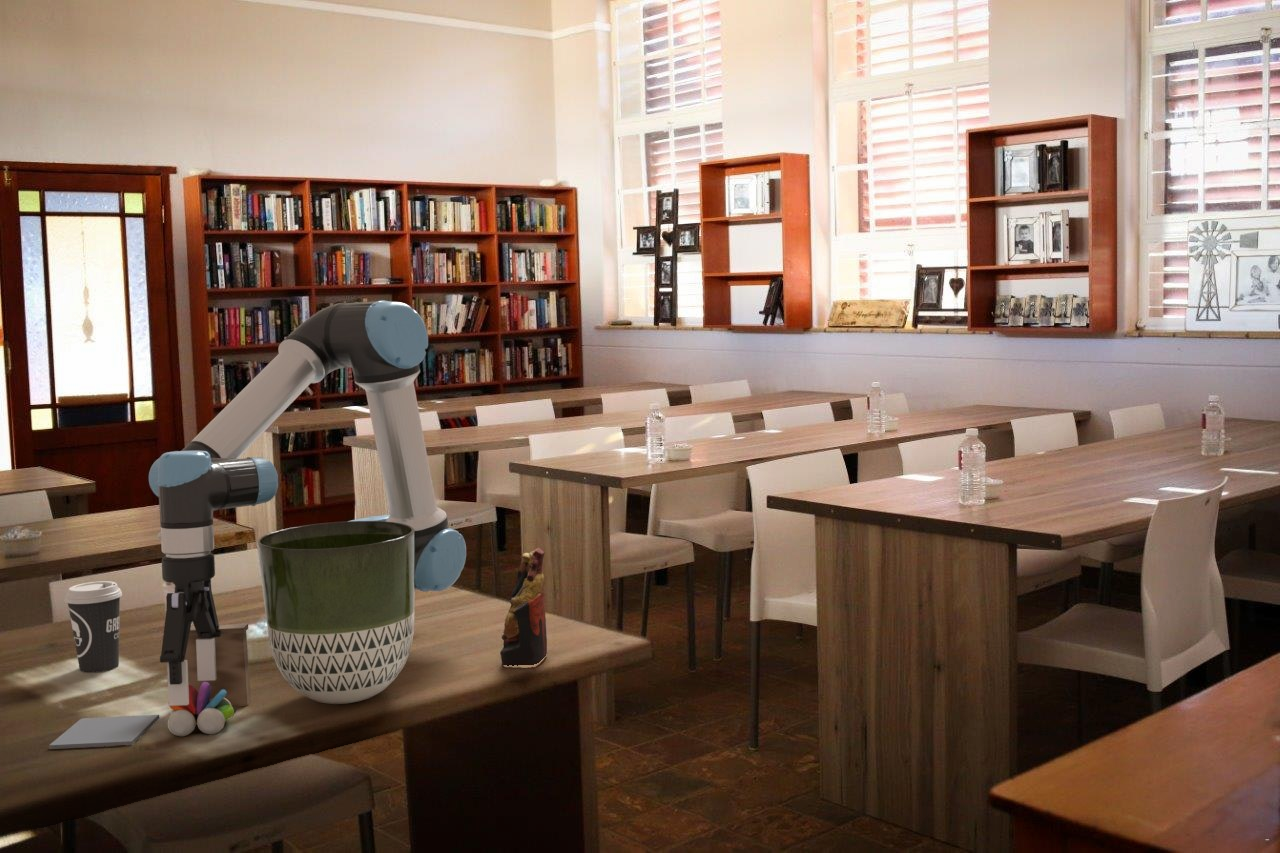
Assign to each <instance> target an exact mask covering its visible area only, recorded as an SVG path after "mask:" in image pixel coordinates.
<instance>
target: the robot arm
mask: <svg viewBox="0 0 1280 853" xmlns="http://www.w3.org/2000/svg"><path fill="white" fill-rule="evenodd" d="M428 347H429V334H428V330H427V326H426V324H425V322H424V320H423V318H422V317H421V315H420V314H419V313H418V312H417V311H416V310H415V309H414V308H412V307H411V306H410V305H408V304H407V303H404V302H400V301H390V300H389V301H388V300H377V301H376V300H375V301H359V302H358V301H357V302H339V303H335V304H332V305H329V306H327V307H324V308H321V310H319V311H317V312H316V313H314V314H313V315H311V316H310V317H309V318H307V319H306V320H304V321H303V322H302V323H300V325H298V326H297V327H296V328H295V329H294V330H292V331H291V332H290V334H288V336H286V337H285V338H284V339H283V340H282V341H281V342H280V343H279V345H278V353H277V355H276V356H275V357H273V359H272V360H271V361H270V362H268V363H267V365H266V366H265V367H264V368H263V369H262V370H261V371H260V372H259V373H258V374H257V375H256V376H255V377H253V379H252V380H251V381H250V382H249V383H248V384H247V385H246V386H245V387H244V388H243V389H241V391H240V392H239V393H238V394H237V395H236V396H235V397H234V398H233V399H232V400H231V401H230V402H229V403H228V404H227V405H226V406H225V407H224V408H223V409H221V411H220V412H218V414H217V415H216V416H215V417H214V418H213V419H212V420H211V421H210V422H209V423H208V424H207V425H206V426H205V427H203V429H202V430H201V431H199V433H198V434H197V435H196V436H194V438H193V439H192V440H190V442H189V443H188V444H187V445H186V446H185V447H184V448H182V450H180V451H179V450H174V451H169V452H168V451H167V452H164V453H162V454H161V456H160V457H159V458H158V459H156V460H155V461H154V462H153V464H152V465H151V467H150V470H149V473H148V483H149V484H148V485H149V488H150V489H151V491H152V493H153V494H154V495H155V496H156V497H157V498H158V504H159V507H158V508H159V522H160V532H158V533H157V538H158V539H160V541H161V542H160V545H161V552H162V554H164V555H163V556H162V558H161V576H162V580H163V581H164V582H165V583H172V584H174V592H170V593H166V597H165V598H166V602H165V603H166V606H165V607H166V611H165V619H164V628H163V635H162V642H161V643H162V644H161V645H162V647H161V654H160V656H159V662H160V663H166V669H167V670H166V671H167V672H166V673H167V692H168V693H167V696H168V702H169V704H168V706H169V707H170V706H174V705H188V704H189V689H188V664H187V660H184V659H185V654H186V649H187V644H188V639H189V634H190V628H191V626H192V625H193V626H195V629H196V632H197V634H198V637H199V638H201V639H197V640H196V652H197V677H198V681H209V680H216V654H215V638H213V637H220V635H221V631H220V630H219V625H220V624H219V619H218V615H217V614H218V613H217V610H216V606H215V601H214V600H215V599H214V596H213V592H212V591H213V590H212V579H213V578H214V577H215V575H216V566H215V565H216V564H215V562H216V561H215V554H214V553H212V552H211V551H213V550H214V549H215V537H214V535H215V534H214V533H215V532H214V512H215V511H219V510H225V509H227V510H228V509H233V508H241V507H243V508H244V507H249V506H251V507H255V506H256V505H260V504H266V503H268V502H270V501H272V499H274V498H275V496H276V494H277V491H278V488H279V479H278V478H279V474H278V471H277V469H276V467H275V465H274V464H273V463H272V462H271V461H270V460H269V459H268V458H265V457H252V456H247V457H246V458H245V457H244V458H241V457H242V455H243V454H245V452H246V451H247V450H248V449H249V448H250V447H251V446H252V445H253V444H254V443H255V442H256V441H257V440H258V439H259V438H260V437H261V435H262V434H264V433H265V431H266V430H268V428H270V426H271V425H272V424H273V423H274V422H275V421H276V420H277V419H278V418H279V417H281V415H282V414H283V413H284V412H285V411H286V410H287V408H289V407H290V406H291V404H293V403H294V401H295V400H296V399H297V398H298V397H299V396H300V395H301V394H302V393H303V392H304V391H305V390H306V388H307V387H309V386H310V385H311V384H316V383H317V384H318V383H319V382H321V381H322V380H323V379H324V378H325V377H326V376H327V375H328V374H330V373H331V372H333V371H336V370H338V369H343V368H351V369H352V373H353V378H354V379H353V380H354V383H355V384H356V385H357V386H359V387H361V389H363V390H364V391H365V395H366V400H367V404H368V410H369V415H370V420H371V421H370V422H371V425H372V430H373V436H374V440H375V441H374V442H375V447H376V450H377V456H378V461H379V465H380V471H381V477H382V481H383V482H382V483H383V486H384V491H385V496H386V501H387V506H388V510H389V514H383V515H376V516H375V515H374V516H368V517H362V518H357V519H352V520H350V521H385V522H396V523H402V524H406V525H409V526H411V527H413V528H414V537H415V563H414V582H415V590H416V591H421V592H424V593H425V592H426V593H427V592H441V591H445V590H447V589H449V588H451V587H452V585H454V584H455V583H456V581H457V580H458V579H459V578H460V576H461V573H462V571H463V569H464V567H465V564H466V560H467V559H466V558H467V545H466V541H465V539H464V536H463V535H462V534H461V533H459V532H460V531H458V530H456V529H453V528H451V527H450V525H449V521H448V515H447V513H446V511H445V510H444V509H441V508H440V507H438V506H437V502H436V496H435V490H434V486H433V481H432V479H433V478H432V476H431V475H432V474H431V469H430V464H429V458H428V452H427V448H426V444H425V443H426V442H425V436H424V431H423V428H422V421H421V417H420V410H419V405H418V400H417V394H416V388H415V383H414V382H415V380H416V379H417V377H418V376H419V374H420V373H421V369H420V363H422V361H424V359H425V357H426V355H427V352H426V350H427V349H428ZM192 623H193V624H192Z"/></svg>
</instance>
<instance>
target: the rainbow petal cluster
mask: <svg viewBox="0 0 1280 853" xmlns="http://www.w3.org/2000/svg"><path fill="white" fill-rule="evenodd" d="M188 689H189V704H188V705H174V706H169V708H170V709H171V710H172V711H173V713H171V714H170V715H169V716H168V721H167V726H168V729H169V731H170V732H171V733H172V734H173V735H174V736H178V737H185V736H188V735H190V734H191V733H192V732H194V730H195V729H196V728H195V727H196V725H197V727H198V729H199V731H201V733H203V734H205V735H214V734H217V733H219V732H221V731H222V730H223V728H224V726H225V724H226V723H225V722H226V721H227V720H229V719H231V718H232V717H233V716H234V714H235V710H234V706H232V705H231V703H230V702H229V700H227V699H226V698H224V697H225V696H226V694H227V692H226V691H225V690H221V691H220V692H219V693H218V694H217V695H216V696H215V697H214V698H212V699H211V700H210V684H209V683H208V682H203V683H202V684H201V686H200V689H199V693H198V691H197V690H196V689H195V688H194V687H193V686H192V685H189V684H188ZM209 700H210V701H209ZM168 705H169V701H168Z"/></svg>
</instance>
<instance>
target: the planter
mask: <svg viewBox="0 0 1280 853" xmlns="http://www.w3.org/2000/svg"><path fill="white" fill-rule="evenodd" d="M256 545H257V554H258V555H257V556H258V565H259V570H260V571H259V572H260V577H261V578H260V579H261V586H262V594H263V603H264V605H263V606H264V611H265V612H264V613H265V617H266V627H267V634H268V640H269V645H270V649H271V653H272V656H273V659H274V661H275V664H276V666H277V669H278V670H279V672H280V674H281V675H282V677H283V678H284V680H286V682H287V684H289V685H290V686H291V687H292V688H293V689H295V690H296V691H297V692H299V693H300V694H301V695H303V696H305V697H306V698H309V699H311V700H313V701H316V702H319V703H324V704H330V705H344V704H353V703H357V702H361V701H364V700H368V699H370V698H372V697H374V696H377V695H378V694H380V693H381V692H383V691H384V690H385V689H386V688H387V687H389V686H390V685H391V684H392V682H394V681H395V679H396V678H397V677H398V676H399V674H401V672H402V670H403V668H404V667H405V665H406V663H407V661H408V659H409V656H410V653H411V649H412V645H413V639H414V638H413V637H414V632H415V631H414V630H415V596H416V595H415V592H416V591H415V582H414V563H415V537H414V528H413V527H411V526H409V525H406V524H402V523H396V522H385V521H351V520H348V521H334V522H325V523H324V522H323V523H313V524H307V525H306V524H305V525H300V526H294V527H289V528H285V529H280V530H276V531H272V532H270V533H267V534H265V535H262V536H261V537H259V538H258V539H257V542H256Z"/></svg>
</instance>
